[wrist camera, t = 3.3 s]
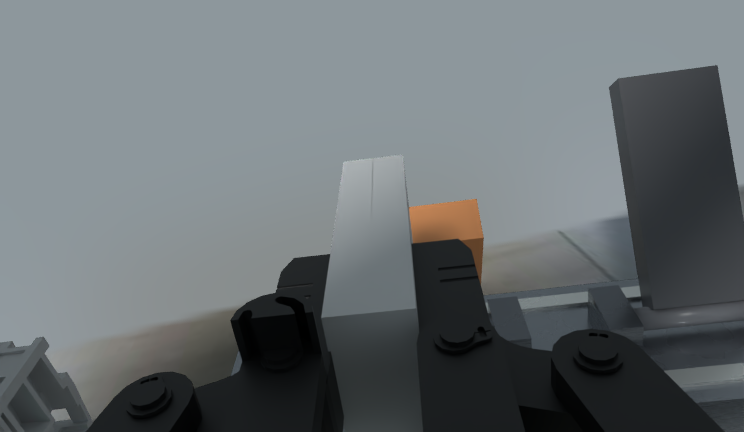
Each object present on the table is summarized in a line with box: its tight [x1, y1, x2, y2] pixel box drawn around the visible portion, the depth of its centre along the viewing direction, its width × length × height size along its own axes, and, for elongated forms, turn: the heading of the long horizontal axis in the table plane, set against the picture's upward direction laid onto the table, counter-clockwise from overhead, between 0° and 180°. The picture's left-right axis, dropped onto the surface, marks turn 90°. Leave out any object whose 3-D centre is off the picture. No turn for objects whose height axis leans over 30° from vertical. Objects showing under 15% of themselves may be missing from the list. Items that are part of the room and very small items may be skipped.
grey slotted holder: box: [231, 279, 744, 432], centre depth 33 cm, size 30×10×6 cm, turn 89°
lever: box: [409, 199, 484, 285], centre depth 28 cm, size 6×2×13 cm
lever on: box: [609, 65, 744, 331], centre depth 32 cm, size 6×2×13 cm
